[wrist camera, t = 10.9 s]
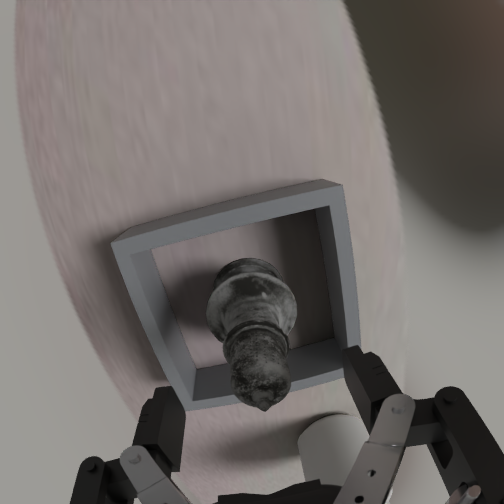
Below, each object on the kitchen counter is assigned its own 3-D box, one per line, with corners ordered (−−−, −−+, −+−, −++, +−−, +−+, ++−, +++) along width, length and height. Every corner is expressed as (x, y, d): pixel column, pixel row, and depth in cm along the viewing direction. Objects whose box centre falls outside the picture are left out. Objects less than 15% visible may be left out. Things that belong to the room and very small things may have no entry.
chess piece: (245, 338, 24) (256, 462, 13) (192, 288, 23) (164, 405, 11) (303, 293, 23) (357, 405, 12) (253, 237, 22) (277, 328, 10)
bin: (130, 227, 21) (110, 243, 17) (323, 179, 21) (342, 184, 17) (189, 379, 25) (184, 411, 22) (346, 343, 25) (362, 371, 21)
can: (304, 457, 30) (324, 540, 19) (287, 424, 28) (308, 523, 17) (364, 435, 30) (398, 514, 18) (357, 399, 28) (399, 492, 16)
